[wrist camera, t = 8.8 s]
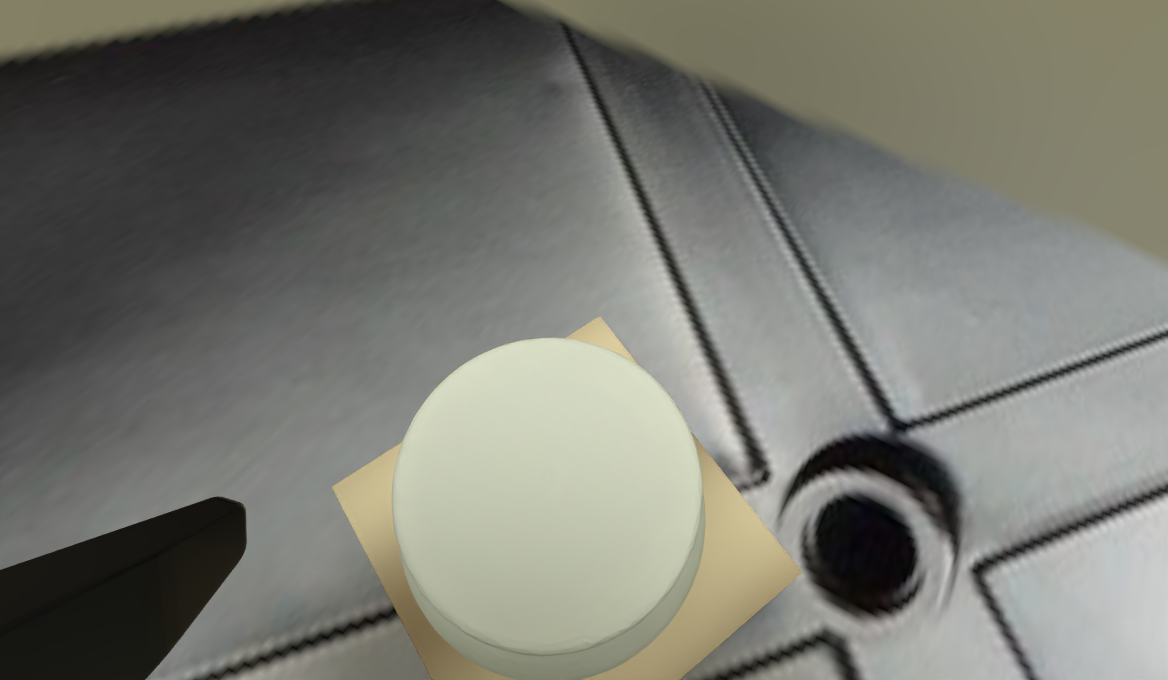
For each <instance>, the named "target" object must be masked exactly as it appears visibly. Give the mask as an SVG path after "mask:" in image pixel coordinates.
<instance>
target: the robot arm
mask: <svg viewBox="0 0 1168 680" xmlns="http://www.w3.org/2000/svg"><path fill="white" fill-rule="evenodd" d="M246 544H247V534H246V508H245V507H244V505H243V504H242V503H240V502H237V501H234V500H231V499H228V498H225V497H213V498H209V499H206V500H203V501H201V502H198V503H195V504H192V505H189V506H186V507H183V508H180V509H177V510H174V511H171V512H168V513H165V514H163V515H160V516H157V517H154V518H151V519H148V520H145V521H142V522H139V523H136V524H133V525H130V526H127V527H125V528H122V529H119V530H116V531H113V532H110V533H107V534H104V535H101V536H98V537H95V538H92V539H89V540H87V541H84V542H81V543H78V544H75V545H72V546H69V547H66V548H63V549H60V550H57V551H54V552H52V553H49V554H46V555H43V556H40V557H37V558H34V559H31V560H28V561H25V562H22V563H19V564H16V565H14V566H11V567H8V568H5V569H2V570H0V680H145V679H146V678H147V677H148V676H149V675H150V674H151V673H152V672H153V671H154V669H155V668H156V667H157V666H158V665H159V664H160V663H161V661H162V660H163V659H164V658H165V657H166V656H167V655H168V653H169V652H170V651H171V650H172V648H173V647H174V646H175V645H176V643H177V642H178V641H179V640H180V638H181V637H182V636H183V634H184V633H185V632H186V631H187V629H188V628H189V627H190V625H191V624H192V623H193V621H194V620H195V619H196V617H197V616H198V615H199V613H200V612H201V611H202V610H203V608H204V607H205V606H206V604H207V603H208V602H209V600H210V599H211V598H212V596H213V595H214V594H215V592H216V591H217V590H218V589H219V587H220V586H221V585H222V583H223V582H224V581H225V579H226V578H227V577H228V575H229V574H230V573H231V571H232V570H233V569H234V568H235V566H236V565H237V564H238V562H239V561H240V559H241V558H242V556H243V554H244V551H245V549H246Z"/></svg>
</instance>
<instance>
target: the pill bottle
mask: <svg viewBox="0 0 1168 680" xmlns="http://www.w3.org/2000/svg"><path fill="white" fill-rule="evenodd" d="M392 516H393V524H394V531H395V536H396V539H397V542H398V546H399V549H400V555H401V560H402V564H403V568H404V573H405V576H406V578H407V581H408V584H409V586H410V589H411V592H412V594H413V596H414V598H415V600H416V602H417V604H418V606H419V607H420V609H421V610H422V612H423V614H424V615H425V617H426V618H427V620H428V621H429V623H430V624H431V625H432V627H433V628H434V629H435V630H436V631H437V633H438V634H439V635H440V636H441V637H442V638H443V639H444V640H445V641H446V642H447V643H448V644H449V645H450V646H451V647H452V648H454V649H455V650H456V651H457V652H459V653H460V654H461V655H462V656H464V657H465V658H467V659H468V660H470V661H472V662H473V663H475V664H477V665H478V666H480V667H482V668H484V669H487V670H489V671H491V672H493V673H496V674H499V675H502V676H505V677H509V678H512V679H516V680H581V679H585V678H589V677H592V676H595V675H598V674H600V673H603V672H606V671H608V670H611V669H613V668H615V667H617V666H619V665H621V664H623V663H624V662H626V661H627V660H629V659H630V658H632V657H633V656H635V655H636V654H637V653H639V652H640V651H641V650H643V649H644V648H645V647H647V646H648V645H649V644H650V643H651V642H652V641H653V640H654V639H655V638H656V637H657V636H658V635H659V634H660V633H661V632H662V631H663V630H664V629H665V628H666V627H667V626H668V625H669V623H670V622H671V621H672V619H673V618H674V616H675V615H676V614H677V612H678V611H679V609H680V607H681V606H682V604H683V602H684V601H685V599H686V597H687V595H688V593H689V591H690V589H691V587H692V584H693V582H694V579H695V576H696V574H697V571H698V568H699V564H700V560H701V556H702V552H703V545H704V538H705V502H704V495H703V482H702V471H701V463H700V458H699V455H698V451H697V447H696V444H695V442H694V439H693V436H692V434H691V431H690V429H689V427H688V425H687V423H686V421H685V419H684V417H683V415H682V413H681V412H680V410H679V408H678V407H677V405H676V404H675V402H674V401H673V400H672V398H671V397H670V395H669V393H668V392H667V391H666V390H665V389H664V388H663V387H662V386H661V385H660V384H659V383H658V382H657V381H656V380H655V379H654V378H653V377H652V376H651V375H650V374H649V373H648V372H646V371H645V370H644V369H643V368H641V367H640V366H638V365H637V364H635V363H634V362H632V361H631V360H629V359H627V358H626V357H624V356H622V355H620V354H618V353H616V352H614V351H611V350H609V349H606V348H604V347H602V346H599V345H596V344H592V343H588V342H584V341H580V340H573V339H564V338H539V339H530V340H522V341H518V342H514V343H509V344H506V345H503V346H500V347H497V348H495V349H492V350H490V351H487V352H485V353H483V354H481V355H479V356H477V357H475V358H473V359H472V360H470V361H468V362H467V363H465V364H463V365H462V366H461V367H459V368H458V369H457V370H455V371H454V372H453V373H451V374H450V375H449V376H448V377H447V378H446V379H445V380H444V381H443V382H441V383H440V384H439V385H438V386H437V387H436V389H435V390H434V391H433V392H432V393H431V394H430V396H429V397H428V398H427V399H426V401H425V402H424V404H423V405H422V406H421V408H420V409H419V411H418V412H417V414H416V415H415V417H414V419H413V421H412V423H411V425H410V427H409V429H408V431H407V433H406V435H405V437H404V439H403V442H402V444H401V447H400V450H399V454H398V457H397V461H396V465H395V470H394V476H393V484H392Z"/></svg>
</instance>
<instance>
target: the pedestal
mask: <svg viewBox="0 0 1168 680" xmlns="http://www.w3.org/2000/svg"><path fill="white" fill-rule="evenodd" d="M565 339H573V340H580V341H584V342H588V343H592V344H596V345H599V346H602V347H604V348H606V349H609V350H611V351H614V352H616V353H618V354H620V355H622V356H624V357H626V358H627V359H629V360H631V361H632V362H634V363H635V364H637V363H636V362H635V360H634V359H633V358H632V356H631V355H630V354H629V353H628V351H627V350H626V349H625V348H624V346H623V345H622V344H621V343H620V341H619V340H618V339H617V338H616V336H615V335H614V334H613V332H612V331H611V330H610V329H609V327H608V326H607V325H606V324H605V322H604V321H603V320H602V319H601V317H600V316H599V317H598V318H596V319H594V320H593V321H591V322H590V323H588V324H587V325H585V326H583V327H582V328H580V329H579V330H577V331H576V332H574V333H572V334H571V335H569V336H568V337H566V338H565ZM637 365H638V364H637ZM638 366H639V365H638ZM691 434H692V432H691ZM692 436H693V439H694V442H695V444H696V447H697V451H698V455H699V458H700V463H701V471H702V482H703V495H704V502H705V538H704V545H703V552H702V556H701V560H700V564H699V568H698V571H697V574H696V576H695V579H694V582H693V584H692V587H691V589H690V591H689V593H688V595H687V597H686V599H685V601H684V602H683V604H682V606H681V607H680V609H679V611H678V612H677V614H676V615H675V616H674V618H673V619H672V621H671V622H670V623H669V625H668V626H667V627H666V628H665V629H664V630H663V631H662V632H661V633H660V634H659V635H658V636H657V637H656V638H655V639H654V640H653V641H652V642H651V643H650V644H649V645H648V646H647V647H645V648H644V649H643V650H641V651H640V652H639V653H637V654H636V655H635V656H633V657H632V658H630V659H629V660H627V661H626V662H624V663H623V664H621V665H619V666H617V667H615V668H613V669H611V670H608V671H606V672H603V673H600V674H598V675H595V676H592V677H589V678H585V679H581V680H680V679H681V678H682V677H683V676H685V675H686V674H687V673H688V672H689V671H690V670H691V669H693V668H694V667H695V666H696V665H697V664H698V663H699V662H701V661H702V660H703V659H704V658H705V657H706V656H707V655H709V654H710V653H711V652H712V651H713V650H714V649H715V648H717V647H718V646H719V645H720V644H721V643H722V642H723V641H725V640H726V639H727V638H728V637H729V636H730V635H731V634H733V633H734V632H735V631H736V630H737V629H738V628H739V627H741V626H742V625H743V624H744V623H745V622H746V621H747V620H749V619H750V618H751V617H752V616H753V615H754V614H756V613H757V612H758V611H759V610H760V609H761V608H762V607H764V606H765V605H766V604H767V603H768V602H769V601H770V600H772V599H773V598H774V597H775V596H776V595H777V594H778V593H780V592H781V591H782V590H783V589H784V588H785V587H786V586H788V585H789V584H790V583H791V582H792V581H793V580H794V579H796V578H797V577H798V576H799V575H800V574H801V573H802V571H801V570H800V569H799V568H798V566H797V565H796V564H795V562H794V561H793V560H792V559H791V557H790V556H789V555H788V554H787V552H786V551H785V550H784V549H783V547H782V546H781V545H780V544H779V542H778V541H777V540H776V538H775V537H774V536H773V535H772V533H771V532H770V531H769V530H768V528H767V527H766V526H765V525H764V523H763V522H762V521H761V520H760V518H759V517H758V516H757V514H756V513H755V512H754V511H753V509H752V508H751V507H750V506H749V504H748V503H747V502H746V501H745V499H744V498H743V497H742V495H741V494H740V493H739V492H738V490H737V489H736V488H735V487H734V485H733V484H732V483H731V482H730V480H729V479H728V478H727V477H726V475H725V474H724V473H723V471H722V470H721V469H720V468H719V466H718V465H717V464H716V463H715V461H714V460H713V459H712V458H711V456H710V455H709V454H708V453H707V451H706V450H705V449H704V447H703V446H702V445H701V444H700V442H699V441H698V440H697V439H696V437H695V436H694V435H693V434H692ZM401 444H402V442H401V443H400V444H398V445H397V446H395V447H394V448H392V449H391V450H389V451H387V452H386V453H384V454H383V455H381V456H380V457H378V458H376V459H375V460H373V461H372V462H370V463H369V464H367V465H365V466H364V467H362V468H361V469H359V470H358V471H356V472H354V473H353V474H351V475H350V476H348V477H347V478H345V479H343V480H342V481H340V482H339V483H337V484H336V485H334V486H332V489H333V490H334V492H335V494H336V496H337V498H338V500H339V502H340V504H341V506H342V508H343V510H344V512H345V514H346V515H347V517H348V519H349V521H350V523H351V525H352V527H353V529H354V531H355V533H356V535H357V537H358V539H359V541H360V542H361V544H362V546H363V548H364V550H365V552H366V554H367V556H368V558H369V560H370V562H371V564H372V566H373V567H374V569H375V571H376V573H377V575H378V577H379V579H380V581H381V583H382V585H383V587H384V589H385V591H386V592H387V594H388V596H389V598H390V600H391V602H392V604H393V606H394V608H395V610H396V612H397V614H398V616H399V617H400V619H401V621H402V623H403V625H404V627H405V629H406V631H407V633H408V635H409V637H410V639H411V641H412V642H413V644H414V646H415V648H416V650H417V652H418V654H419V656H420V658H421V660H422V662H423V664H424V666H425V667H426V669H427V671H428V673H429V675H430V677H431V679H432V680H516V679H512V678H509V677H505V676H502V675H499V674H496V673H493V672H491V671H489V670H487V669H484V668H482V667H480V666H478V665H477V664H475V663H473V662H472V661H470V660H468V659H467V658H465V657H464V656H462V655H461V654H460V653H459V652H457V651H456V650H455V649H454V648H452V647H451V646H450V645H449V644H448V643H447V642H446V641H445V640H444V639H443V638H442V637H441V636H440V635H439V634H438V633H437V631H436V630H435V629H434V628H433V627H432V625H431V624H430V623H429V621H428V620H427V618H426V617H425V615H424V614H423V612H422V610H421V609H420V607H419V606H418V604H417V602H416V600H415V598H414V596H413V594H412V592H411V589H410V586H409V584H408V581H407V578H406V576H405V573H404V568H403V564H402V560H401V555H400V549H399V546H398V542H397V539H396V536H395V531H394V524H393V516H392V484H393V476H394V470H395V465H396V461H397V457H398V454H399V450H400V447H401Z"/></svg>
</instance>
